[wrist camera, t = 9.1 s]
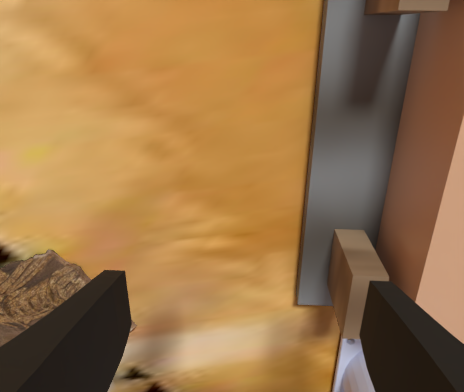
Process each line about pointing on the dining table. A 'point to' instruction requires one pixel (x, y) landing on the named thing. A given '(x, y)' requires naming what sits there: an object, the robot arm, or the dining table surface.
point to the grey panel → (354, 149)
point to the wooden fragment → (35, 291)
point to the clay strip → (430, 175)
